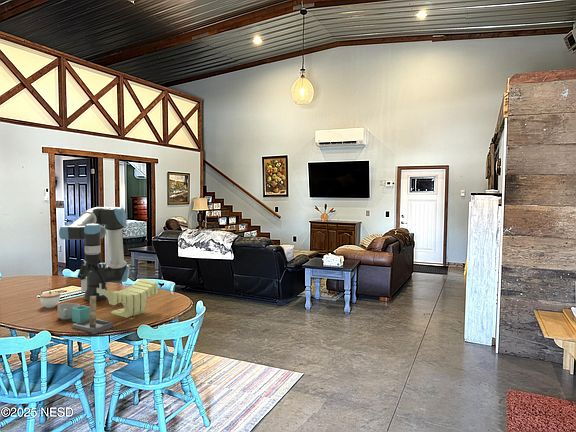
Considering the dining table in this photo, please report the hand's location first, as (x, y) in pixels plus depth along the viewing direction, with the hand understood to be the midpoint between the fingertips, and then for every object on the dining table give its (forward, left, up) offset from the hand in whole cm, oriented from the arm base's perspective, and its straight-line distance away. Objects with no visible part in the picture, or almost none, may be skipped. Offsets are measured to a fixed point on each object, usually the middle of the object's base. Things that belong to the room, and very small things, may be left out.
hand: (92, 293), depth 206 cm
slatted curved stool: (-2, +26, -19) cm, 32 cm away
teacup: (-24, +3, -19) cm, 31 cm away
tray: (0, 0, -19) cm, 19 cm away
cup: (-14, +4, -19) cm, 23 cm away
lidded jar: (-56, +15, -19) cm, 61 cm away
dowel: (0, 0, -18) cm, 18 cm away
